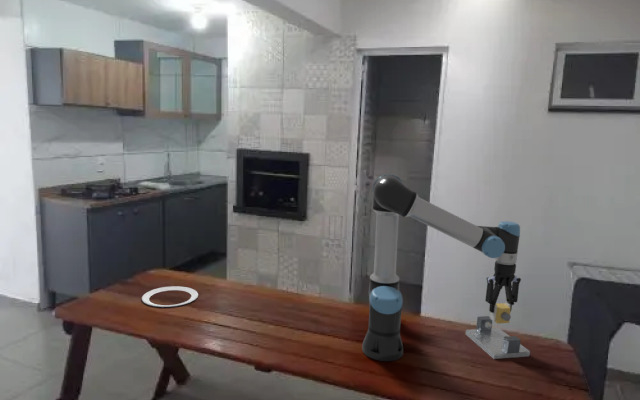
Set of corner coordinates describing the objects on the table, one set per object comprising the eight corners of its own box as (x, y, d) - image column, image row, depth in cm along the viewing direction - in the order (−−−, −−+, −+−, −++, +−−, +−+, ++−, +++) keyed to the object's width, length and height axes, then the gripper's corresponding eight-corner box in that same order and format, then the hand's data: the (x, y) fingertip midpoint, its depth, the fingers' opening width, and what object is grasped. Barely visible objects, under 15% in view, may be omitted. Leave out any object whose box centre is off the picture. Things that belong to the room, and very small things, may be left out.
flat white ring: (189, 310, 199) (189, 307, 199) (132, 307, 199) (132, 304, 199) (204, 289, 224) (204, 287, 223) (153, 287, 224) (153, 284, 224)
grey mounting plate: (530, 356, 170) (532, 338, 169) (494, 359, 167) (496, 341, 166) (497, 331, 191) (499, 315, 189) (464, 333, 187) (466, 317, 186)
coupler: (487, 316, 181) (488, 301, 180) (498, 315, 182) (499, 301, 181) (500, 325, 172) (502, 310, 171) (512, 325, 173) (513, 310, 172)
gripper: (490, 265, 168) (483, 325, 172) (532, 264, 172) (525, 322, 176) (479, 259, 175) (473, 316, 179) (520, 258, 179) (513, 314, 183)
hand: (499, 319), depth 177 cm, fingers closed on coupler, 5 cm apart
